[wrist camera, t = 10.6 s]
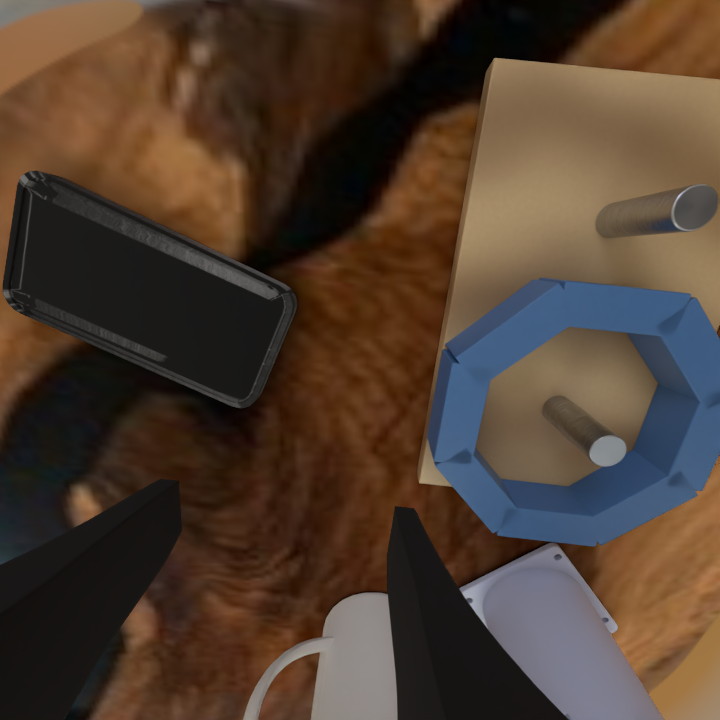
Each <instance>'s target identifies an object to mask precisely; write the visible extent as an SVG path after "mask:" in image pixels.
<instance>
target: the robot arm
mask: <svg viewBox="0 0 720 720" xmlns="http://www.w3.org/2000/svg"><path fill="white" fill-rule="evenodd" d="M181 532H182V527H181V511H180V494H179V481H174V480H165V479H160V480H158V481H156V482H154V483H152V484H150V485H148V486H147V487H145V488H143V489H142V490H140V491H138V492H136V493H135V494H133V495H131V496H130V497H128V498H126V499H124V500H123V501H121V502H119V503H118V504H116V505H114V506H112V507H111V508H109V509H107V510H105V511H104V512H102V513H100V514H99V515H97V516H95V517H93V518H92V519H90V520H88V521H86V522H84V523H82V524H81V525H79V526H77V527H75V528H73V529H71V530H69V531H68V532H66V533H64V534H62V535H60V536H58V537H56V538H55V539H53V540H51V541H49V542H47V543H45V544H43V545H41V546H39V547H37V548H35V549H33V550H31V551H29V552H27V553H25V554H23V555H21V556H18V557H16V558H14V559H12V560H10V561H8V562H6V563H3V564H1V565H0V720H64V719H65V718H66V716H67V714H68V712H69V710H70V709H71V707H72V705H73V703H74V702H75V700H76V698H77V696H78V695H79V693H80V691H81V690H82V688H83V686H84V684H85V683H86V681H87V679H88V678H89V676H90V674H91V672H92V671H93V669H94V667H95V666H96V664H97V662H98V660H99V659H100V657H101V656H102V654H103V653H104V651H105V649H106V648H107V646H108V645H109V643H110V642H111V640H112V639H113V637H114V636H115V634H116V633H117V631H118V630H119V629H120V627H121V626H122V624H123V623H124V621H125V620H126V618H127V617H128V616H129V614H130V613H131V611H132V610H133V608H134V607H135V606H136V604H137V603H138V601H139V600H140V598H141V597H142V595H143V594H144V593H145V591H146V590H147V588H148V587H149V585H150V584H151V582H152V581H153V579H154V578H155V577H156V575H157V574H158V572H159V571H160V569H161V568H162V566H163V565H164V563H165V561H166V560H167V558H168V556H169V554H170V552H171V551H172V549H173V547H174V545H175V543H176V541H177V539H178V537H179V535H180V533H181ZM387 592H388V602H389V613H390V623H391V633H392V643H393V653H394V663H395V673H396V688H397V719H398V720H664V718H663V717H662V715H661V714H660V712H659V711H658V709H657V707H656V706H655V704H654V703H653V701H652V699H651V698H650V696H649V694H648V693H647V691H646V690H645V688H644V686H643V685H642V683H641V682H640V680H639V678H638V677H637V675H636V674H635V672H634V670H633V669H632V667H631V666H630V664H629V662H628V661H627V659H626V658H625V656H624V654H623V653H622V651H621V650H620V648H619V646H618V645H617V643H616V642H615V640H614V638H613V637H612V635H611V633H613V632H615V631H616V630H617V629H618V626H617V624H616V622H615V621H614V620H613V618H612V617H611V615H610V614H609V613H608V611H607V610H606V609H605V607H604V606H603V605H602V603H601V602H600V601H599V599H598V598H597V597H596V595H595V594H594V593H593V591H592V590H591V588H590V587H589V586H588V584H587V583H586V582H585V580H584V579H583V578H582V576H581V575H580V574H579V572H578V571H577V570H576V568H575V567H574V566H573V564H572V563H571V561H570V560H569V559H568V557H567V556H566V555H565V553H564V552H563V551H562V549H561V548H560V547H559V545H558V544H557V543H548V544H546V545H544V546H542V547H540V548H538V549H536V550H534V551H532V552H530V553H528V554H526V555H524V556H522V557H520V558H518V559H516V560H514V561H512V562H510V563H508V564H506V565H504V566H502V567H500V568H498V569H496V570H494V571H492V572H490V573H488V574H486V575H484V576H482V577H481V578H479V579H477V580H475V581H473V582H471V583H469V584H467V585H465V586H463V587H461V588H458V586H457V585H456V583H455V582H454V580H453V579H452V577H451V575H450V574H449V572H448V570H447V569H446V567H445V565H444V564H443V562H442V560H441V558H440V557H439V555H438V553H437V552H436V550H435V548H434V546H433V544H432V543H431V541H430V539H429V537H428V535H427V533H426V531H425V529H424V527H423V525H422V523H421V521H420V519H419V516H418V514H417V512H416V511H415V509H414V508H406V507H397V506H395V511H394V517H393V523H392V529H391V535H390V541H389V547H388V554H387Z"/></svg>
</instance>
